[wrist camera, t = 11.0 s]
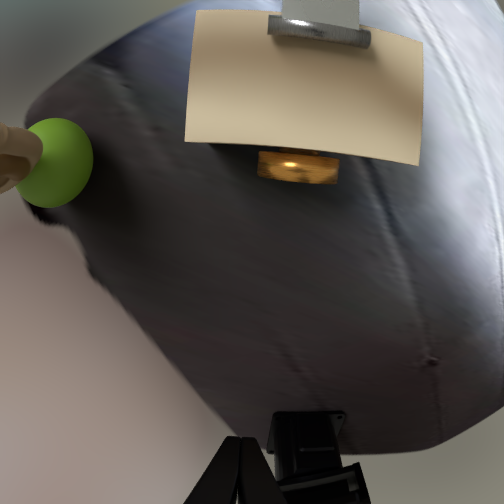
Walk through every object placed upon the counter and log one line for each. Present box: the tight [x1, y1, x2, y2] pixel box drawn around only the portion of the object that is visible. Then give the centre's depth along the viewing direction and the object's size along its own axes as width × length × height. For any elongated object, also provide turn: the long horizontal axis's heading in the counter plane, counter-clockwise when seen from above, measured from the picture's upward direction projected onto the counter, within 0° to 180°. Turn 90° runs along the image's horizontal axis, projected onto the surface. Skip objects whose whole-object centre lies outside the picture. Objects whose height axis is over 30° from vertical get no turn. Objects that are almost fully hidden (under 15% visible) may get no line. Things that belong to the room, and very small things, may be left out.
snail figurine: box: [0, 118, 93, 208], centre depth 12 cm, size 5×6×12 cm
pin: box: [257, 147, 340, 184], centre depth 13 cm, size 13×4×4 cm, turn 176°
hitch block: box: [185, 10, 423, 166], centre depth 14 cm, size 6×10×6 cm, turn 86°
